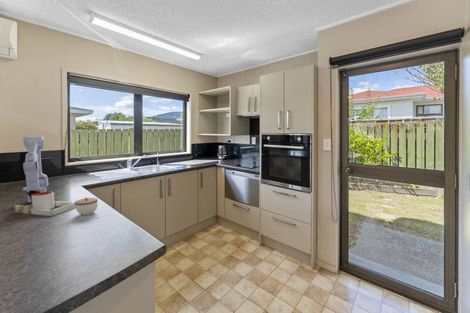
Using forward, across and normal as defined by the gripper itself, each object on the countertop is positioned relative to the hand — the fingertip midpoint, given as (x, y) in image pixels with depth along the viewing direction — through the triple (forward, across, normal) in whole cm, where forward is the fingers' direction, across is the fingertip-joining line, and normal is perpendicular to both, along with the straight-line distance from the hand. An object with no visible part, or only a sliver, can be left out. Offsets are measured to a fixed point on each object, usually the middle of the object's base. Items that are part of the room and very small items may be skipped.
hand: (35, 202), depth 134 cm
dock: (+4, +15, 0) cm, 15 cm away
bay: (+4, 0, 0) cm, 4 cm away
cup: (+4, +7, 0) cm, 8 cm away
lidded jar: (+4, +39, 0) cm, 39 cm away
